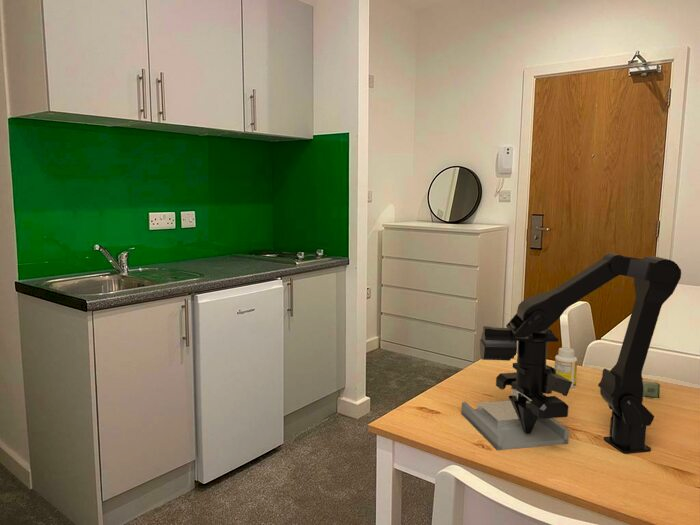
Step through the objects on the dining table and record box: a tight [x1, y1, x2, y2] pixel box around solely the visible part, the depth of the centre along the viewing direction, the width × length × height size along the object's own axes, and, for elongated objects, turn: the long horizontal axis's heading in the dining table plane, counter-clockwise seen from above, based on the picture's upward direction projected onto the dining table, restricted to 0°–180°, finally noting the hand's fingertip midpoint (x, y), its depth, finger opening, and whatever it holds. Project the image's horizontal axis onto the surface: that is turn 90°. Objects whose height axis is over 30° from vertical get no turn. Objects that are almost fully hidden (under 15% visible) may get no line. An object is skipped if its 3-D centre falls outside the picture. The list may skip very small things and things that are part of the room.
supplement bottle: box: [554, 347, 578, 389], centre depth 145 cm, size 6×6×10 cm
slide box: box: [460, 401, 570, 451], centre depth 119 cm, size 18×16×3 cm
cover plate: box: [476, 399, 535, 429], centre depth 122 cm, size 10×9×2 cm
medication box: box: [643, 380, 661, 399], centre depth 139 cm, size 12×3×4 cm, turn 80°
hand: (527, 433), depth 112 cm, fingers closed
